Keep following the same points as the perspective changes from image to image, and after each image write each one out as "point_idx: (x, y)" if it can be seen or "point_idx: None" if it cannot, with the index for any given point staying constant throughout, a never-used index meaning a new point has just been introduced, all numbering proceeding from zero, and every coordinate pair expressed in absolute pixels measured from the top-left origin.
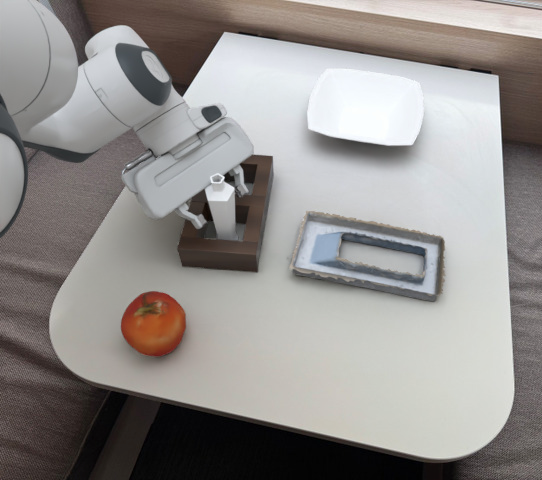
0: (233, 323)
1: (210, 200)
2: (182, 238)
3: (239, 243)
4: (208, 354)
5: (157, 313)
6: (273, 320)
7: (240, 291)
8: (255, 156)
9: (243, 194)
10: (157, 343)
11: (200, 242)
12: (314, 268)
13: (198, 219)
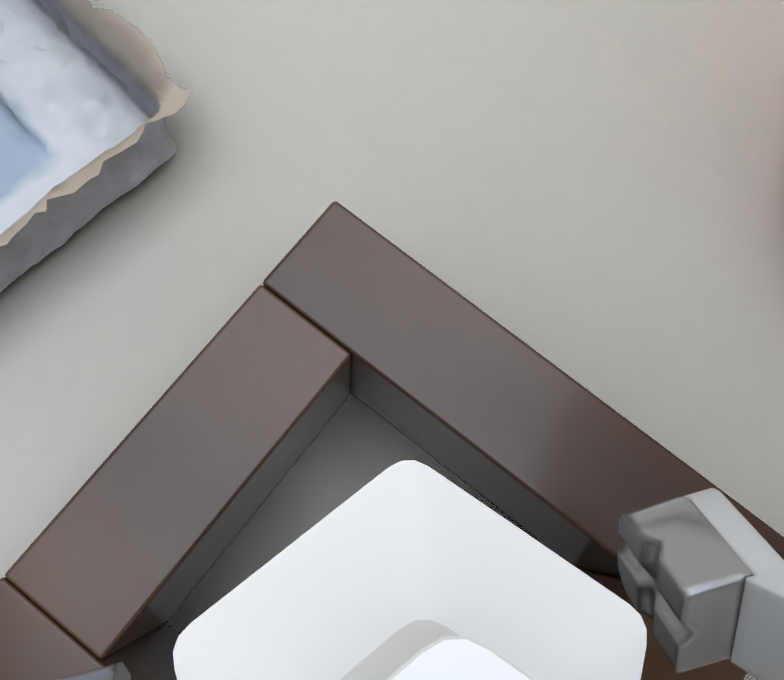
0: (588, 94)
1: (617, 598)
2: None
3: (384, 345)
4: (747, 32)
5: None
6: (417, 9)
7: (476, 223)
8: None
9: (91, 674)
10: None
11: None
12: (58, 109)
13: (732, 547)
